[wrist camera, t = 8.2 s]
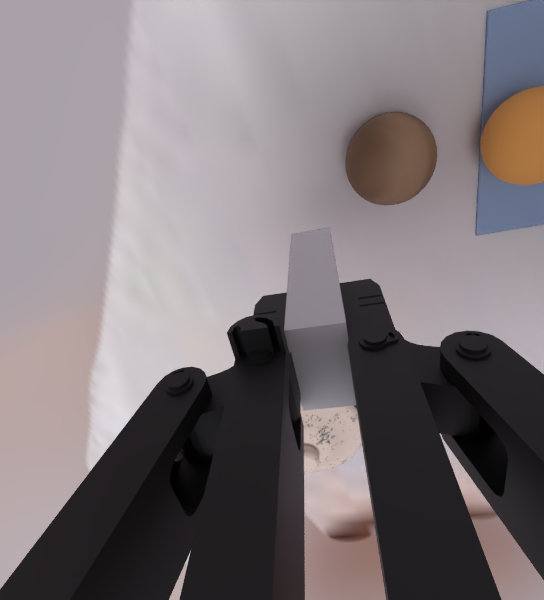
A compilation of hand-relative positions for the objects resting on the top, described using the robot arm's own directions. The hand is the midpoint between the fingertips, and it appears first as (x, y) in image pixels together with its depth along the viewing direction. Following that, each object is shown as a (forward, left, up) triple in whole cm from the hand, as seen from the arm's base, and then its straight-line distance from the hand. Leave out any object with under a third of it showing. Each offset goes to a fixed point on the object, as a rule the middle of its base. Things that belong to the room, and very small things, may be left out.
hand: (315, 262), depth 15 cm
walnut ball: (-5, -1, -12) cm, 13 cm away
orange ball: (-14, 0, -12) cm, 18 cm away
